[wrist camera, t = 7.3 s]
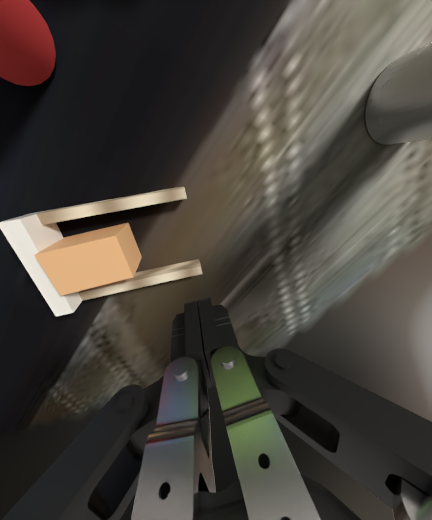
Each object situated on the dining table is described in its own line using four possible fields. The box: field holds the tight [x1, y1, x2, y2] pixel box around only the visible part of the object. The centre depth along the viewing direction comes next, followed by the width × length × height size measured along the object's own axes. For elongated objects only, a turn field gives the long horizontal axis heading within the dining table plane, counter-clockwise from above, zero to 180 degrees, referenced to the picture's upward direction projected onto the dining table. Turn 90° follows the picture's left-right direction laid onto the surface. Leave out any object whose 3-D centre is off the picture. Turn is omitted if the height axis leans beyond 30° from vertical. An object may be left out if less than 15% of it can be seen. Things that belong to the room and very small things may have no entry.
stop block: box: [0, 210, 82, 317], centre depth 24 cm, size 2×11×5 cm, turn 9°
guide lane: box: [37, 186, 202, 301], centre depth 26 cm, size 16×11×2 cm
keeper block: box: [34, 223, 142, 296], centre depth 24 cm, size 8×5×6 cm, turn 102°
